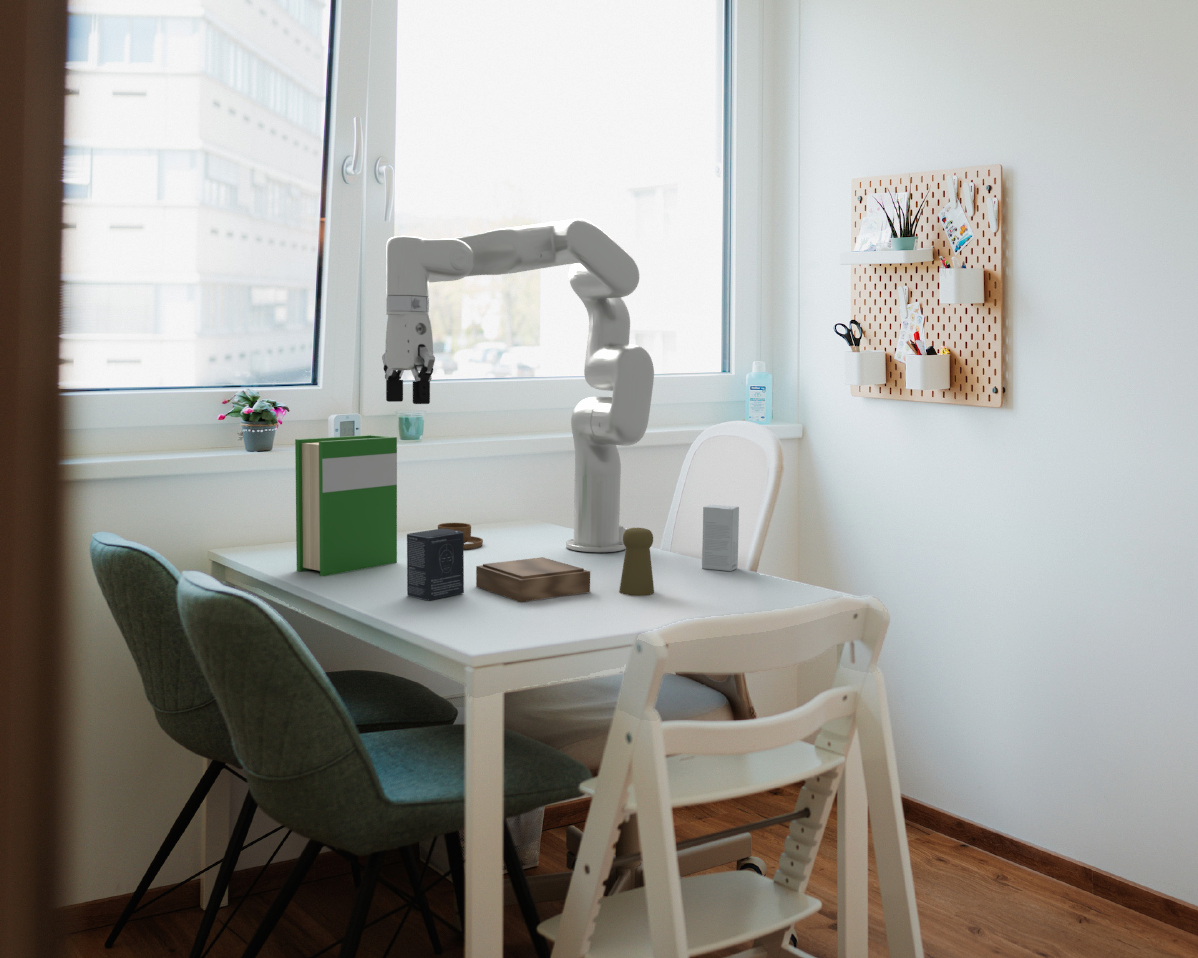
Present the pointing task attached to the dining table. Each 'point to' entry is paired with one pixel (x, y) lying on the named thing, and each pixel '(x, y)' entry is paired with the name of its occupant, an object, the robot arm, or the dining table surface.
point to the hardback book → (346, 503)
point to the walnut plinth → (532, 579)
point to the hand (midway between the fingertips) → (407, 402)
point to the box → (435, 564)
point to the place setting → (464, 534)
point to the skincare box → (720, 537)
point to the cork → (637, 563)
